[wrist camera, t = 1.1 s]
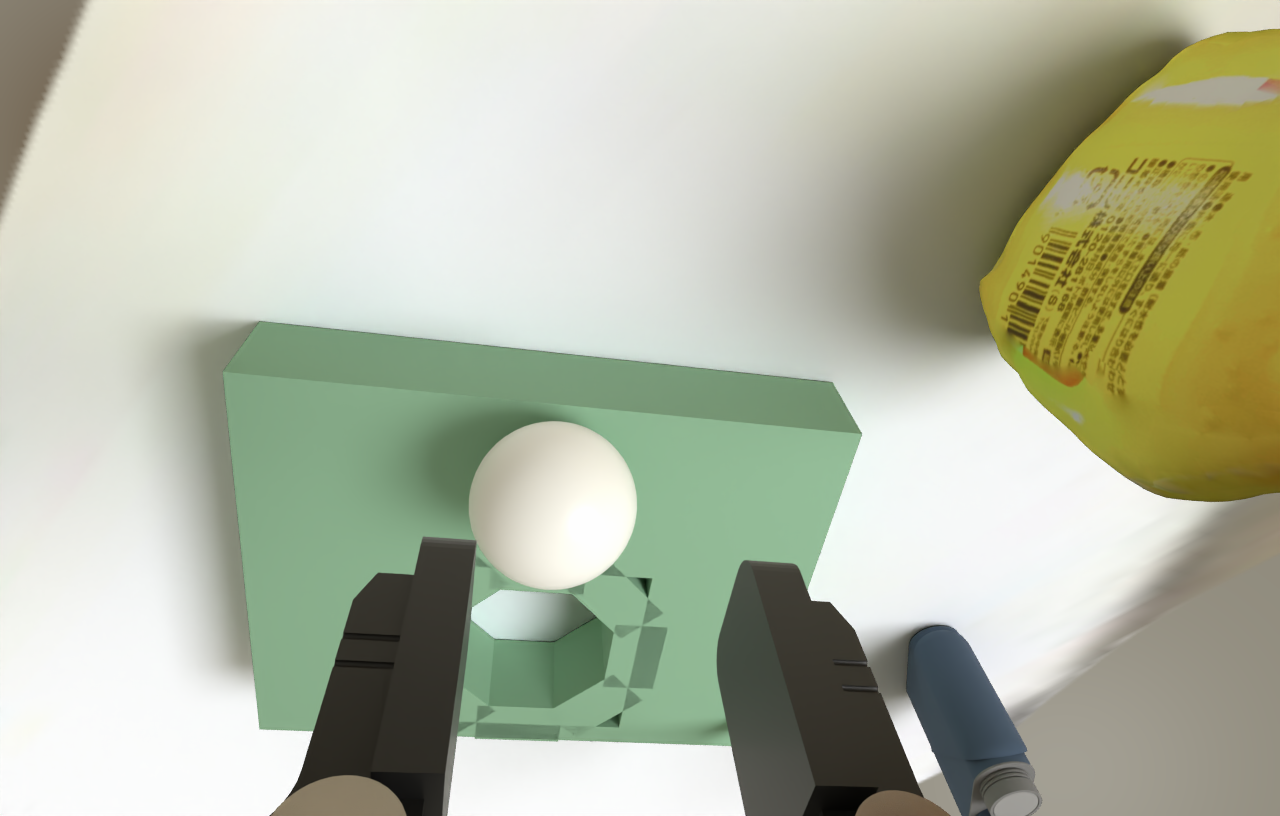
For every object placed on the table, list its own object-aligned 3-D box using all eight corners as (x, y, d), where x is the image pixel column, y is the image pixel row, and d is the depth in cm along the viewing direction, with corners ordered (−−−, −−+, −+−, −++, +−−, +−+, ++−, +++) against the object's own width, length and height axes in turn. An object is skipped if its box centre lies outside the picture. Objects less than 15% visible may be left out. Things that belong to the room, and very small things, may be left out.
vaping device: (901, 701, 40) (1019, 973, 30) (907, 625, 37) (1037, 895, 27) (954, 693, 40) (1089, 962, 30) (963, 616, 37) (1115, 883, 27)
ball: (481, 382, 25) (465, 479, 21) (642, 399, 26) (658, 495, 22) (471, 511, 28) (455, 621, 23) (618, 523, 29) (629, 631, 24)
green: (259, 321, 27) (-23, 707, 14) (832, 382, 30) (1041, 746, 17) (285, 661, 35) (120, 1110, 22) (736, 683, 38) (829, 1089, 25)
